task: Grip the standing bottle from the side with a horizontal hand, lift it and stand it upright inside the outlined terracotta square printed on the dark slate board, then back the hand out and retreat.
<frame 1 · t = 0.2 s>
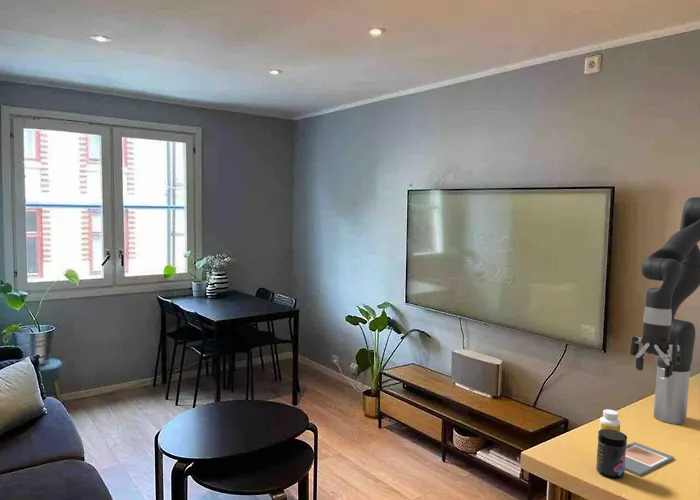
hand: (653, 373, 166), 18 cm above the counter, tool pointing down, fingers open, 8 cm apart
picture board: (636, 458, 147), on the counter
supplement container: (609, 473, 139), on the counter
supplement bottle: (608, 444, 156), on the counter
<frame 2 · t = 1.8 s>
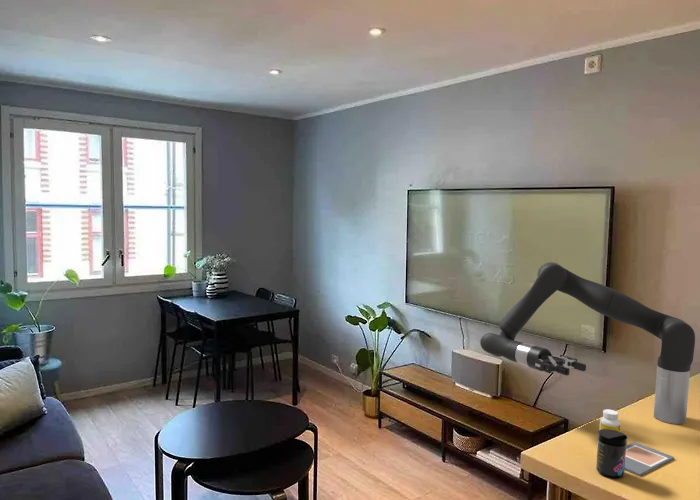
hand: (577, 370, 163), 19 cm above the counter, tool horizontal, fingers open, 8 cm apart
nothing on the counter moved.
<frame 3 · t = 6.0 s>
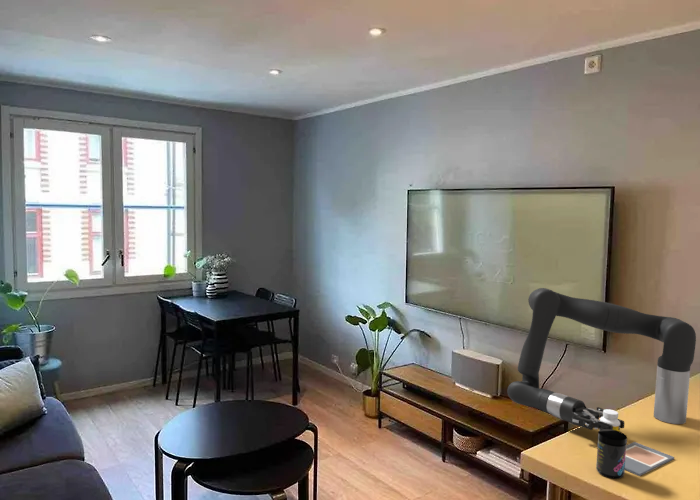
hand: (617, 427, 153), 6 cm above the counter, tool horizontal, fingers closed on supplement bottle, 5 cm apart
supplement bottle: (608, 444, 156), on the counter, touching gripper
everything else where it was.
when the fingers open (8 cm above the counter, at t = 11.8 s): supplement bottle stays where it is, resting on picture board.
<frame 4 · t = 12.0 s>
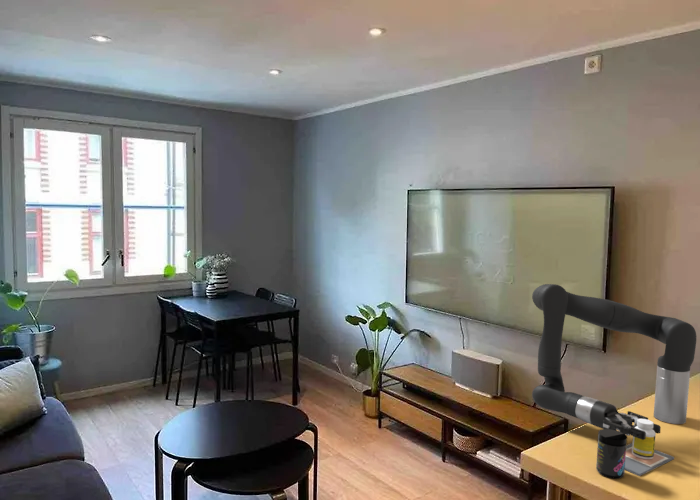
hand: (652, 432, 145), 8 cm above the counter, tool horizontal, fingers open, 7 cm apart
supplement bottle: (642, 456, 147), point 1 cm above the counter, touching picture board
everything else where it was.
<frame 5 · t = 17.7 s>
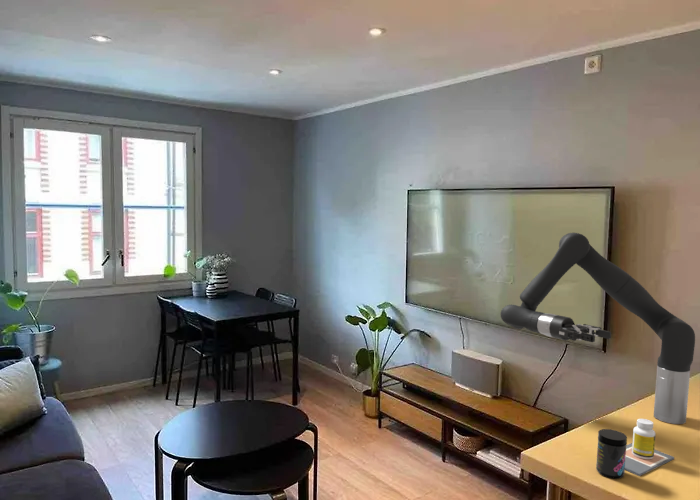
hand: (602, 337, 160), 30 cm above the counter, tool horizontal, fingers open, 8 cm apart
nothing on the counter moved.
at the end: supplement bottle 0.1 cm from the target spot, point 0.5 cm above the counter; supplement bottle tilted 0°; the gripper is holding nothing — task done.
